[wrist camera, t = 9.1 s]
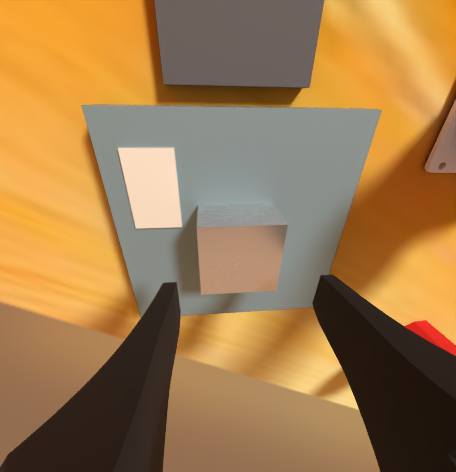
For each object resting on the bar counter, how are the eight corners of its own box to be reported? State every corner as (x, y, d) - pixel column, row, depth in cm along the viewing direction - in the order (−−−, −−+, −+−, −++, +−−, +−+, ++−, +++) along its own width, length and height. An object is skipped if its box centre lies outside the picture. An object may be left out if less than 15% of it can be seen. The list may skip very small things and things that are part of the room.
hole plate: (360, 108, 14) (384, 109, 12) (309, 291, 23) (319, 308, 21) (97, 104, 13) (79, 105, 11) (146, 300, 21) (140, 320, 19)
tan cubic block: (266, 192, 17) (287, 224, 12) (260, 248, 19) (276, 290, 15) (198, 193, 16) (196, 227, 12) (201, 250, 19) (201, 294, 15)
